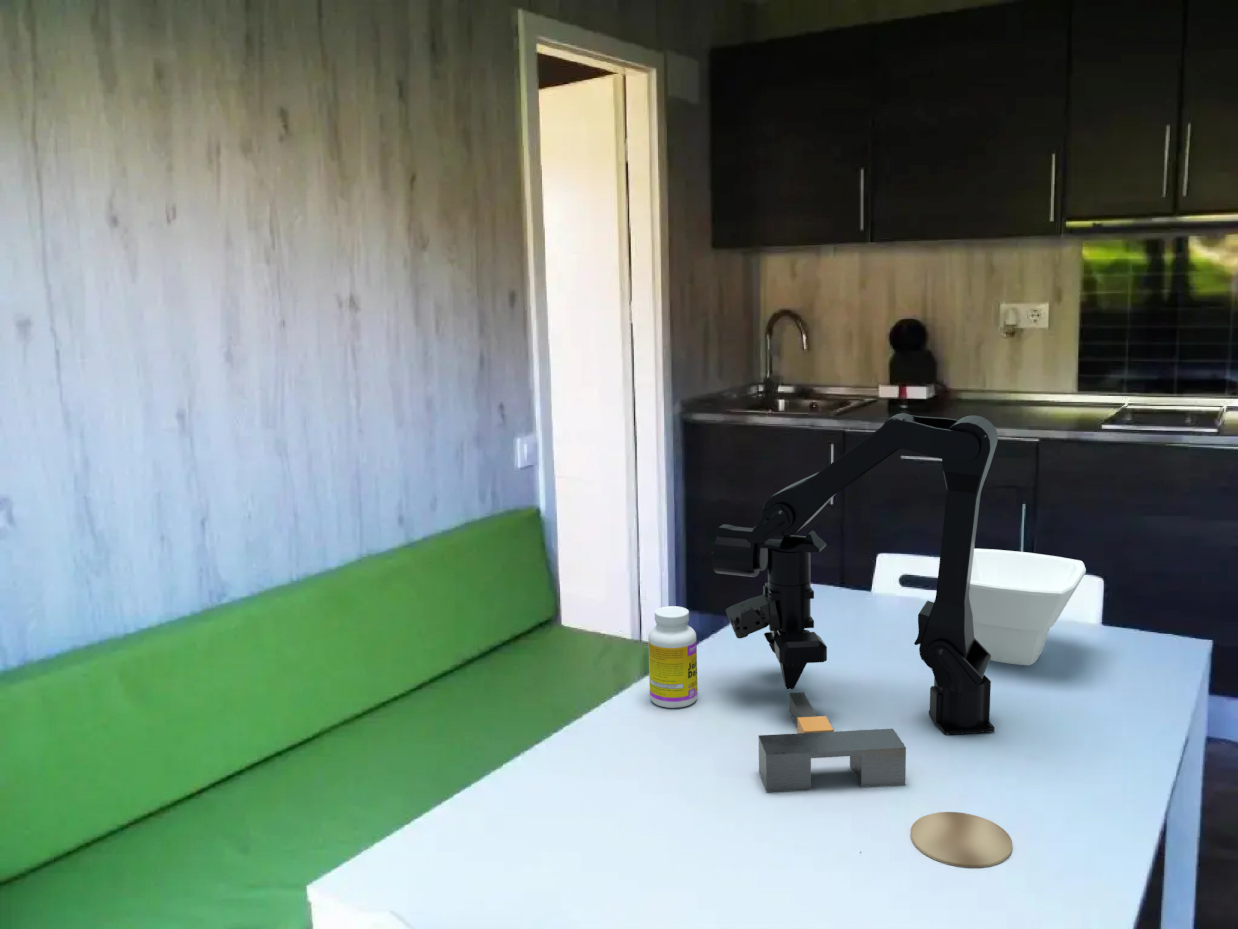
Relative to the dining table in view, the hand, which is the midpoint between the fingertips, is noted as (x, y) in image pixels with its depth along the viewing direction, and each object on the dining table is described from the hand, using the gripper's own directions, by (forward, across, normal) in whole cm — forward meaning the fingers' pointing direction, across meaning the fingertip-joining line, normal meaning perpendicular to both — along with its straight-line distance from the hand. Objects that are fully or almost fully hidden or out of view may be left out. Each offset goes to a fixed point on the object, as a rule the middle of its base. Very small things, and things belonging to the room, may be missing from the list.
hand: (789, 688), depth 146 cm
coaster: (+1, +38, +10) cm, 40 cm away
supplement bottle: (+1, -1, -16) cm, 16 cm away
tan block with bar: (+1, +11, 0) cm, 11 cm away
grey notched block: (+1, +24, 0) cm, 24 cm away
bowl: (+1, -10, +35) cm, 36 cm away
